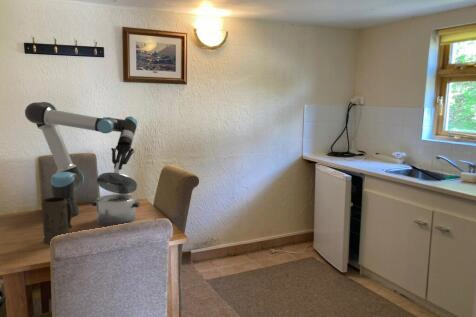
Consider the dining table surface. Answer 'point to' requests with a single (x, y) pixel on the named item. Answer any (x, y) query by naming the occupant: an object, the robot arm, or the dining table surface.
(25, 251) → the dining table surface
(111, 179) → the cooker lid
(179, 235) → the dining table surface
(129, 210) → the cooker pot
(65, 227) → the beer stein
